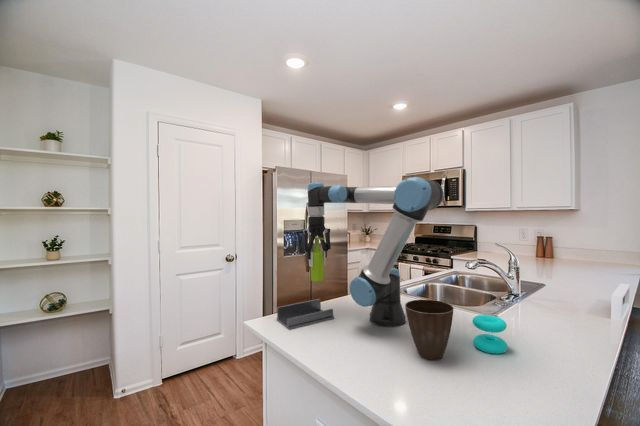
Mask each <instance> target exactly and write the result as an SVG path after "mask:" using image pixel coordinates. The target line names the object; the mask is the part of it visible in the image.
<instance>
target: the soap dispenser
mask: <svg viewBox="0 0 640 426" xmlns="http://www.w3.org/2000/svg"><path fill="white" fill-rule="evenodd" d="M320 239H323V240H325V237H324V238H320V237H318V236H316V237H315V239H314V243H313V246H312V251H311V252H312V253H313V267H310V281H312V282H316V283H317V282H322V281H325V280H324V277H325V276H324V272H325V271H324V265H323V252H321V251H322V250H321V244H320V243H319V240H320Z"/></svg>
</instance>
